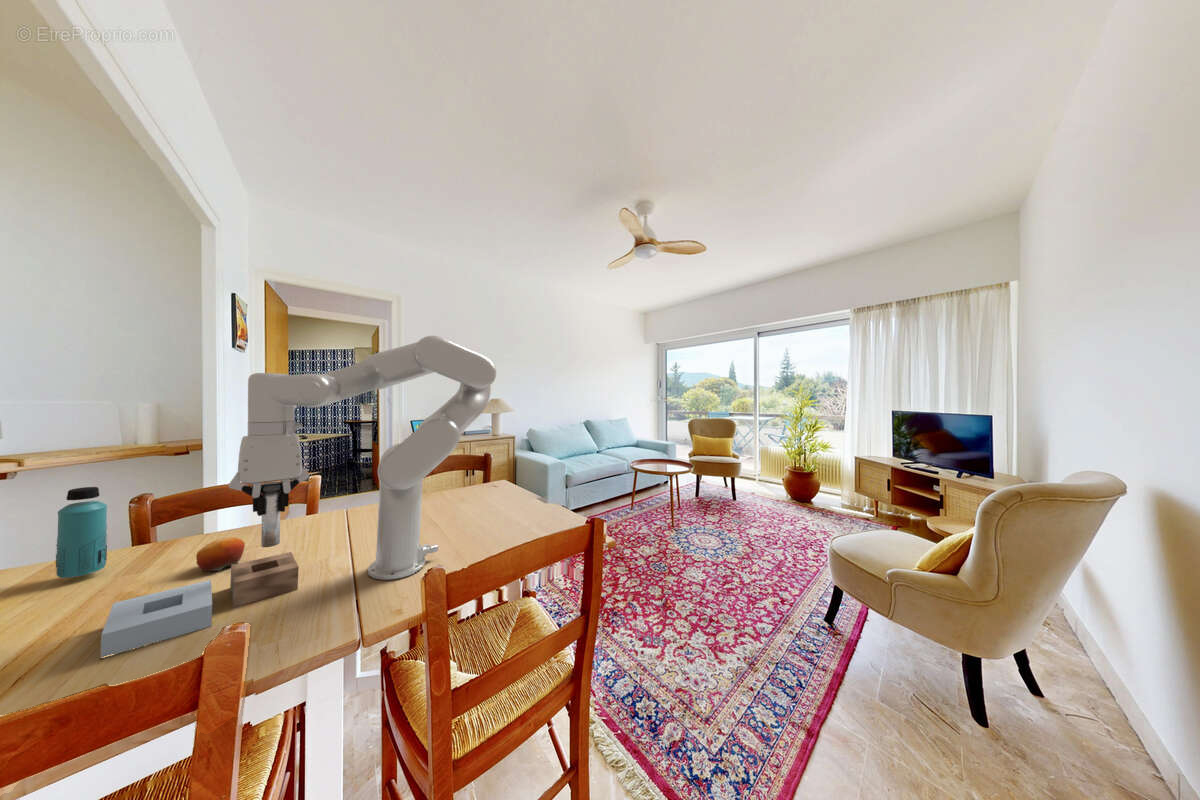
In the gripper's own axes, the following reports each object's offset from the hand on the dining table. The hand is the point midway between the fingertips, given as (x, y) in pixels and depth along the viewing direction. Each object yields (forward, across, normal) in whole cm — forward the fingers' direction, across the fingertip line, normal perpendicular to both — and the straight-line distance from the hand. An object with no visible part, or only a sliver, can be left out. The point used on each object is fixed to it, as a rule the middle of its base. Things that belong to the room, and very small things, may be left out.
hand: (271, 511), depth 79 cm
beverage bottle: (+16, +28, -31) cm, 45 cm away
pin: (+7, 0, 0) cm, 7 cm away
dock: (+17, +15, +4) cm, 23 cm away
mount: (+17, +1, 0) cm, 17 cm away
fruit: (+17, +7, -19) cm, 27 cm away
